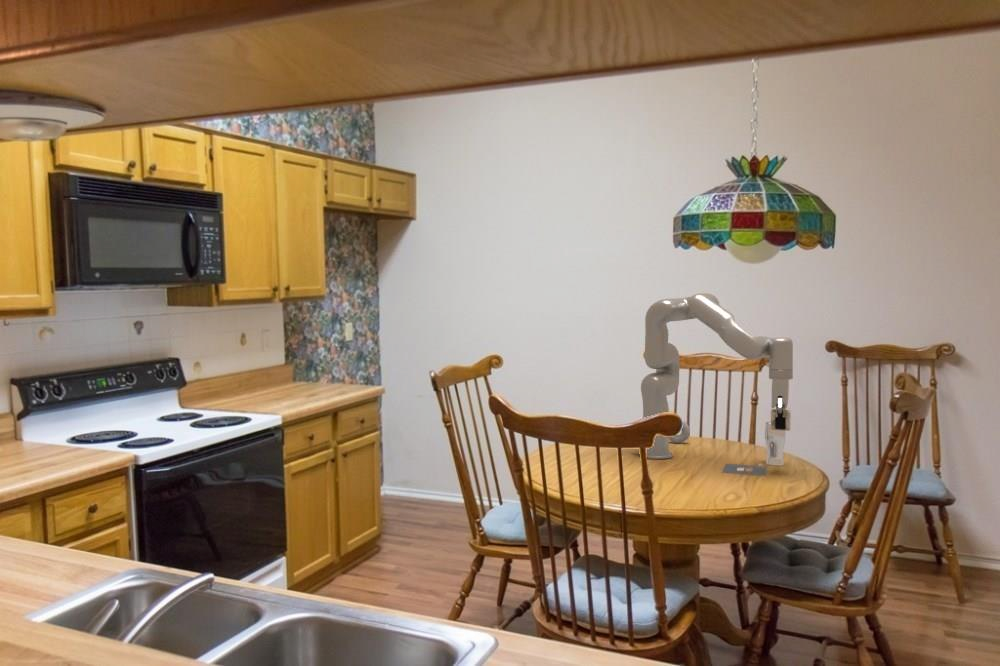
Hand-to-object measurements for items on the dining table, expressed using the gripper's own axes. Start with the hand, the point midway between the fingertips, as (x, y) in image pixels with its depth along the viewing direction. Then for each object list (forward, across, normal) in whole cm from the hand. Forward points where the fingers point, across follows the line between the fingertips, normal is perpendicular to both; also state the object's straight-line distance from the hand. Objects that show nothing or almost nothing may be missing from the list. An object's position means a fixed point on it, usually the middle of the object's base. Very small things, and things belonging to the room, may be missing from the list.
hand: (780, 426), depth 253 cm
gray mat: (+16, 0, -12) cm, 20 cm away
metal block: (+1, 0, 0) cm, 1 cm away
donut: (+16, -39, -41) cm, 59 cm away
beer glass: (+16, -13, -2) cm, 21 cm away
